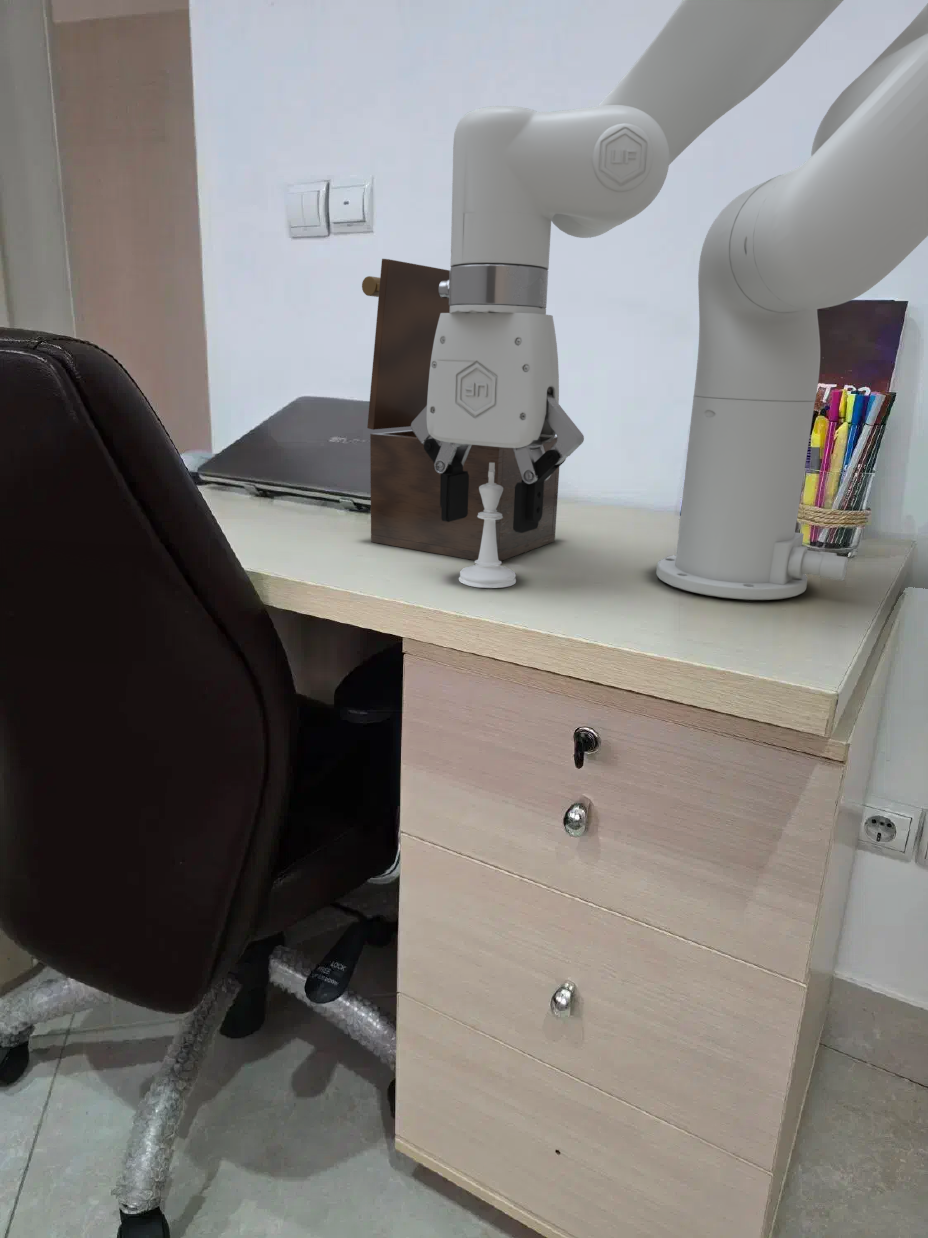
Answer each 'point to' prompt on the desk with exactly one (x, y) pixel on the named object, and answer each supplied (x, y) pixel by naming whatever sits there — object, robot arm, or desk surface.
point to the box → (413, 500)
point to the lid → (403, 340)
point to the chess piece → (488, 543)
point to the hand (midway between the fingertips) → (489, 522)
